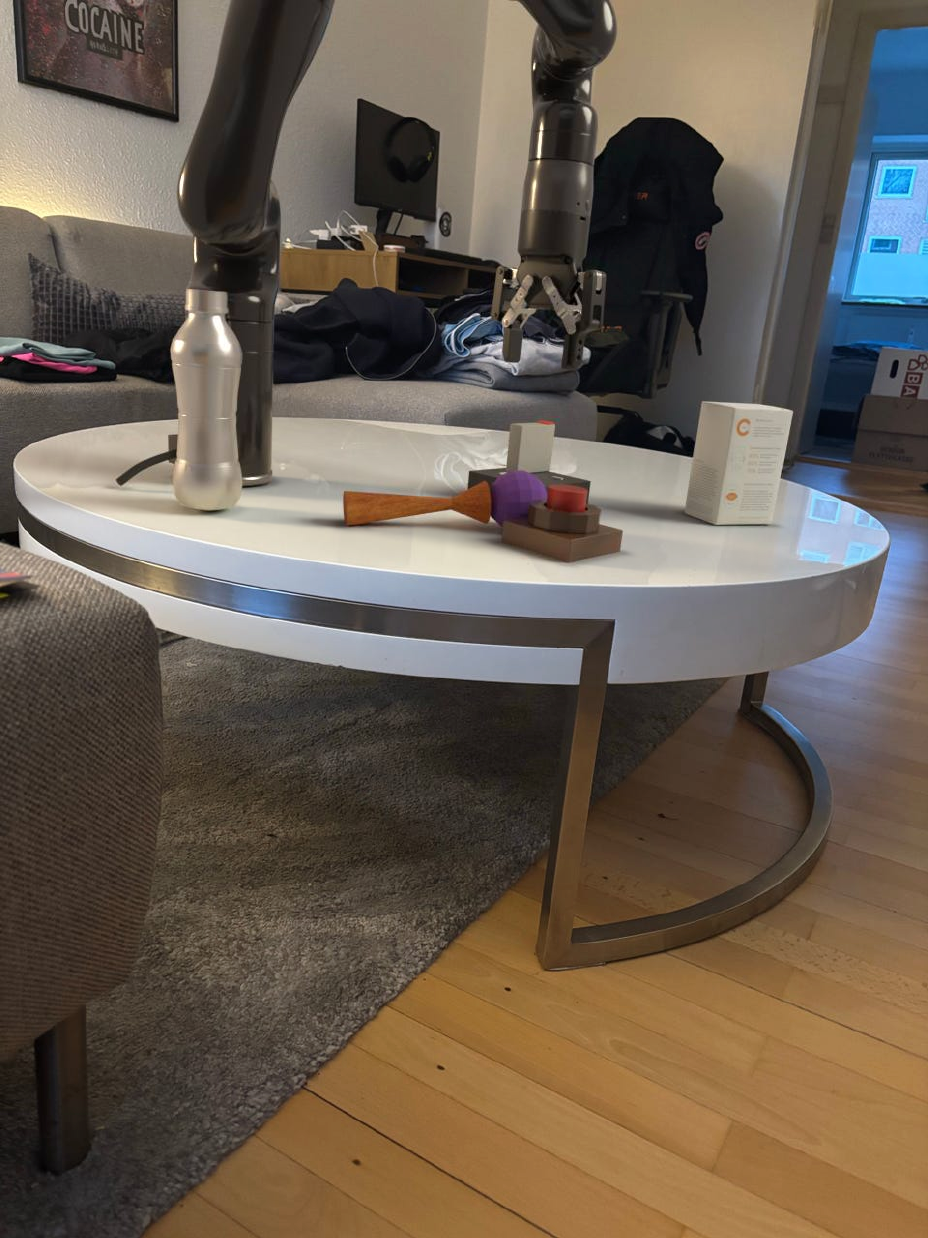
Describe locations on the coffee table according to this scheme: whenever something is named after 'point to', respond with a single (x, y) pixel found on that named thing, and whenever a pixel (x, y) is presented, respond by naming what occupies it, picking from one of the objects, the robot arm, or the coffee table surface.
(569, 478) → the hob panel
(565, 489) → the button
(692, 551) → the coffee table surface
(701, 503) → the small box
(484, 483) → the kendama
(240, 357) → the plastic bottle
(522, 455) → the beige square slab
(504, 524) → the block
